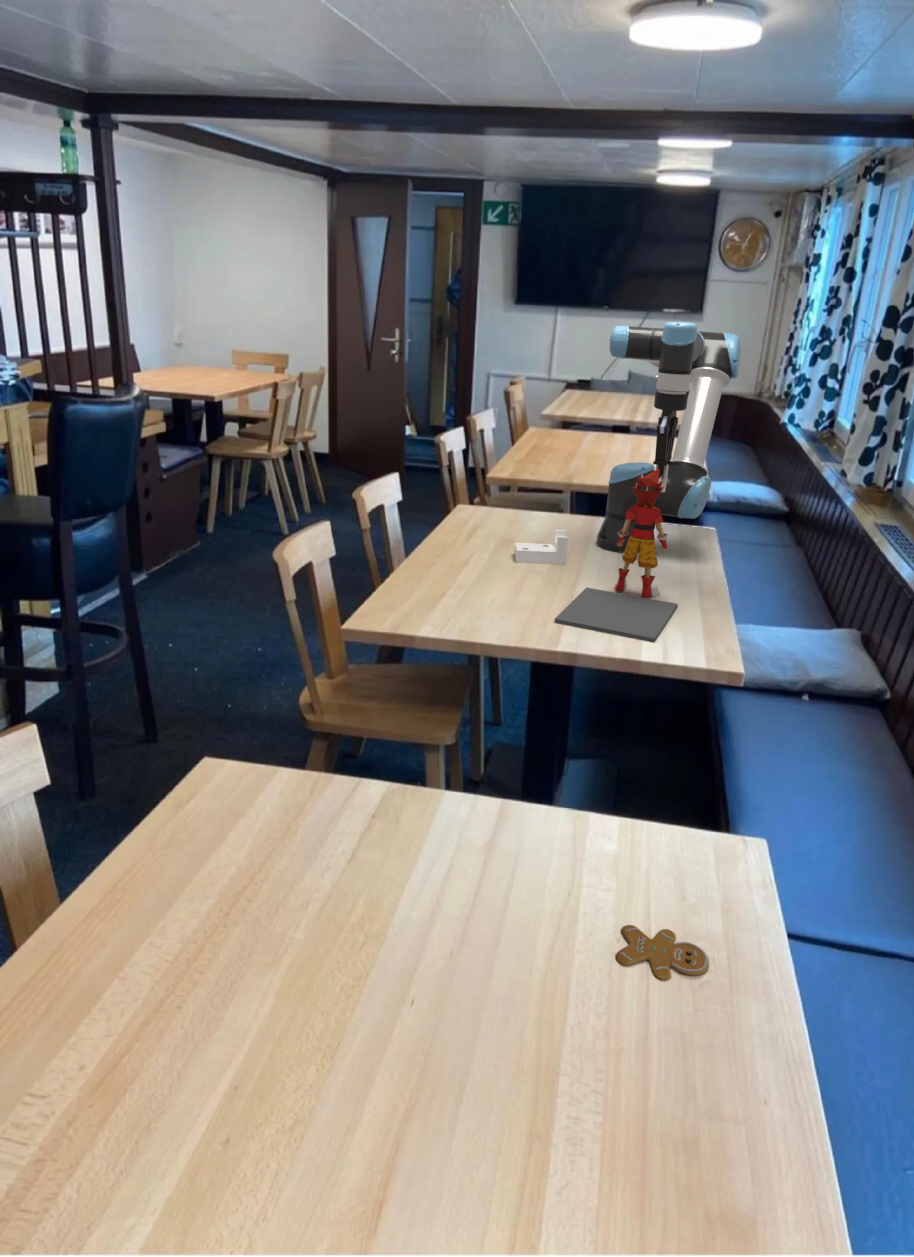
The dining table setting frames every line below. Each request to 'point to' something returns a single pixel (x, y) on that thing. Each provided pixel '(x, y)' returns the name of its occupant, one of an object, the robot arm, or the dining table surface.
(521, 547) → the bracket
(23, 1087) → the dining table surface
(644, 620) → the mat
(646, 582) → the toy
